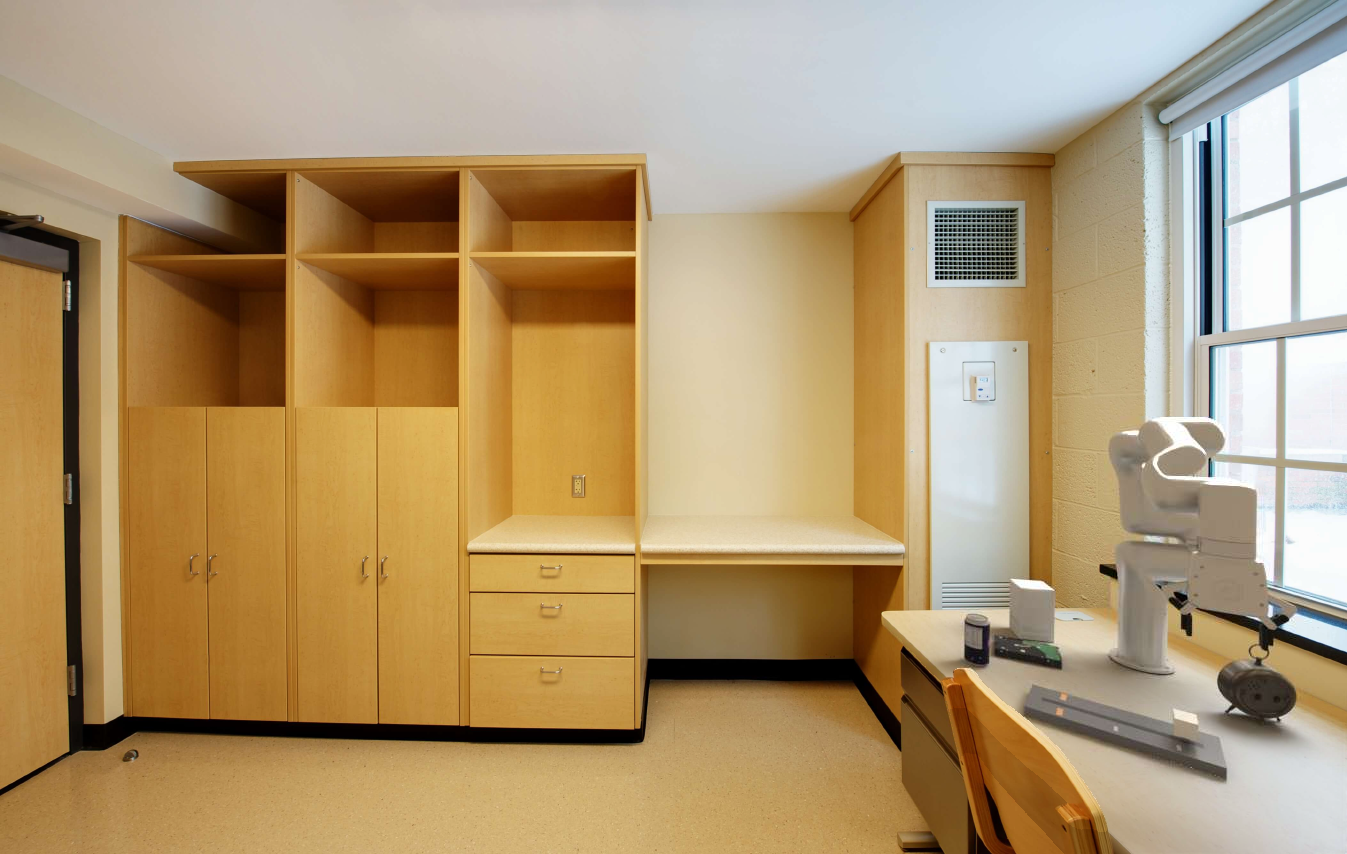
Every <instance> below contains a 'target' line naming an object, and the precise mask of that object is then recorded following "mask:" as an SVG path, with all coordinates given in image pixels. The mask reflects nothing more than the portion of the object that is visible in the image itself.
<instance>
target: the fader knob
mask: <svg viewBox="0 0 1347 854" xmlns="http://www.w3.org/2000/svg"><path fill="white" fill-rule="evenodd" d="M1172 724H1173V729H1174V735H1176V736H1180V737H1181V739H1183V740H1186V741H1190V740H1193V741H1197V742H1198V731H1199V720H1198V716H1197V714H1195V713H1192V712H1191V713H1190V712H1188V711H1183V710H1180V709H1176V708H1172Z"/></svg>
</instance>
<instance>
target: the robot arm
mask: <svg viewBox="0 0 1347 854" xmlns="http://www.w3.org/2000/svg"><path fill="white" fill-rule="evenodd" d="M1225 443H1226V433H1225V431H1224V428H1223V427H1222V425H1221V424H1220V423H1218V422H1217V421H1216V420H1214V419H1212V418H1208V417H1160V418H1159V417H1158V418H1154V419H1150V420H1147V421H1145V422H1144V423H1143V424H1142V425H1140V427H1139V428H1138V430H1129V431H1122V432H1117V433H1115V434H1114V435H1112V436H1110V439H1109V442H1108V447H1107V448H1108V450H1107V451H1108V456H1109V460H1110V462H1111V466H1112V468H1113V469H1114V470H1113V471H1114V472H1115V475H1116V479H1117V481H1118V494H1119V495H1118V499H1119V517H1120V524H1121V527H1122V529H1123V530H1124V531H1125V532H1126V533H1129V534H1131V535H1132V534H1133V535H1138V536H1147V537H1157V538H1158V537H1159V538H1171V539H1175V540H1176V541H1177V543H1172V542H1171V543H1170V542H1160V541H1149V540H1138V539H1137V540H1132V539H1131V540H1124V541H1121V542H1120V543H1118V544H1117V545H1116V546H1115V548H1114V552H1113V553H1114V561H1115V566H1116V572H1117V582H1118V583H1117V584H1118V588H1117V589H1118V593H1117V594H1118V595H1117V599H1118V601H1117V604H1118V605H1117V647H1114V648H1112V649H1110V650H1109V657H1110V658H1112V660H1113V661H1115V662H1116V663H1118V664H1120V665H1123V666H1124V667H1128V668H1130V669H1133V670H1137V671H1140V672H1143V673H1144V672H1145V673H1150V674H1156V675H1157V674H1158V675H1169V674H1173V673H1174V672H1175V671H1176V665H1175V664H1174V662H1172V661H1171V660H1169V659H1168V619H1169V617H1168V613H1169V612H1168V610H1169V607H1168V606H1169V603H1170V604H1171V605H1172V606H1173V607H1174V608H1175V609H1176V610H1178V611H1179V612H1180V629H1181V630H1183V631H1184V632H1185V634H1186V636H1187V637H1192V636H1193V616H1192V615H1193V614H1192V613H1191V612H1193V611H1195V610H1196V609H1197V608H1198V609H1202V610H1206V611H1211V612H1213V611H1214V612H1219V613H1225V614H1230V615H1231V614H1232V615H1236V616H1237V615H1238V616H1243V617H1248V618H1249V617H1251V618H1256V619H1258V620H1260V621H1261V623H1260V624H1259V625H1258V644H1259V645H1258V646H1259V647H1260V648H1261V650H1262V651H1265V652H1267V651H1268V650H1269V646H1270V647H1274V636H1275V635H1274V630H1276V629H1277V628H1278V627H1281V626H1282V625H1283V626H1284V624H1286V623H1288V622H1290V619H1292V618H1293V617H1294V616H1295V615H1296V613H1297V612H1298V611H1299V609H1298V608H1297V606H1296V605H1294V604H1292V603H1291V602H1288V601H1286V600H1284V599H1282V598H1280V597H1278V596H1276V595H1273V594H1271V593H1269V591H1268V590H1269V588H1268V579H1267V573H1266V569H1265V565H1264V561H1262V560H1261V559H1259V558H1257V525H1258V524H1257V522H1258V521H1257V518H1258V517H1257V515H1258V511H1257V510H1258V509H1257V508H1258V493H1257V490H1256V488H1255V487H1254V486H1253V485H1251V484H1247V483H1242V482H1240V481H1238V480H1236V479H1232V478H1227V477H1226V478H1224V477H1204V476H1192V475H1194V474H1197V473H1198V472H1199V471H1201V470H1202V469H1203V468H1204V467H1205V465H1206V463H1207V460H1208V459H1211V458H1213V457H1214V456H1216V455H1218V453H1220V452H1221V451H1222V450H1223V449H1224V447H1225ZM1155 581H1159V582H1172V583H1170V584H1165V585H1161V588H1160V587H1159V586H1158V585H1157V584H1156V583H1155ZM1185 590H1186V595H1187V599H1186V600H1184V601H1183V602H1181V600H1180V599H1178V598H1177V597H1176V596H1175V594H1174V593H1175V592H1179V591H1185ZM1269 602H1270V603H1271V604H1272V605H1275V606H1276V607H1279V608H1281V610H1280V612H1279V613H1277V614H1274V615H1273V616H1268V614H1269V607H1270V606H1269Z"/></svg>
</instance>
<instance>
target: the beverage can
mask: <svg viewBox="0 0 1347 854" xmlns="http://www.w3.org/2000/svg"><path fill="white" fill-rule="evenodd" d="M963 621H964V624H963V625H964V627H963V629H964V630H963V632H964V633H963V634H964V636H963V637H964V640H963V641H964V642H963V647H964V648H963V649H964V650H963V652H964V653H963V657H964V659H965V661H967V663H968V664H969V665H972V666H973V667H977V668H978V667H979V668H983V667H986V666H987V665H989V663H990V654H991V653H990V652H991V651H990V649H991V648H990V641H991V639H990V637H991V635H990V634H991V633H990V630H991V628H990V627H991V624H990V622H989V618H988V617H987V616H985V615H984V614H983V615H982V614H979V613H968V614H966V615H965V618H964V620H963Z"/></svg>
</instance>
